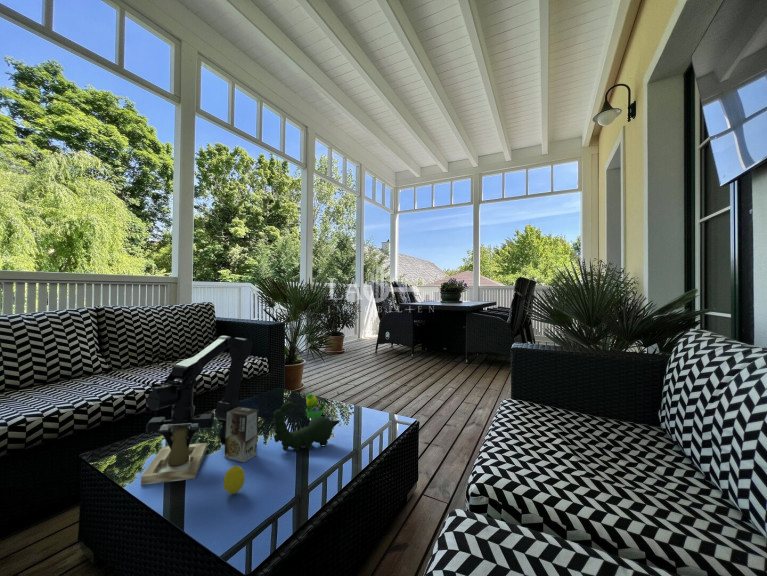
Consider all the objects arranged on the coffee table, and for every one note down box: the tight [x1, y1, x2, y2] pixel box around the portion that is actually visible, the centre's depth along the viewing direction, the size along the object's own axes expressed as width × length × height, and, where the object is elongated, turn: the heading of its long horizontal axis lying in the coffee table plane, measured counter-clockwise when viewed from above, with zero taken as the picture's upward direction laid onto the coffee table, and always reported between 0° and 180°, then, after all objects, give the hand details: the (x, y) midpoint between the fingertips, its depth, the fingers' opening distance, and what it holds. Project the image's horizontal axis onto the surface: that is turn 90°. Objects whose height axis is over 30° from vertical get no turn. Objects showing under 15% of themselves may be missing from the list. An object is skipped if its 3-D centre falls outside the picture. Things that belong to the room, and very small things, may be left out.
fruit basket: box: [305, 393, 327, 419], centre depth 157 cm, size 11×9×11 cm
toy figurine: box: [272, 401, 340, 452], centre depth 125 cm, size 9×19×25 cm
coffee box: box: [224, 406, 260, 463], centre depth 116 cm, size 9×6×16 cm
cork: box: [168, 425, 190, 465], centre depth 109 cm, size 6×6×11 cm
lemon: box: [223, 465, 246, 495], centre depth 94 cm, size 6×6×8 cm
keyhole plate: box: [140, 442, 208, 486], centre depth 107 cm, size 14×20×2 cm
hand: (179, 448), depth 109 cm, fingers closed on cork, 4 cm apart
